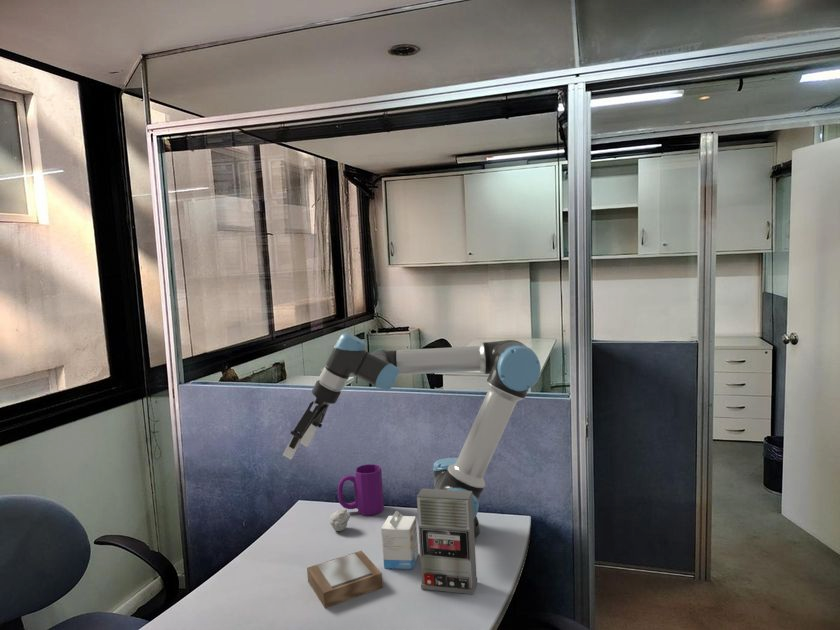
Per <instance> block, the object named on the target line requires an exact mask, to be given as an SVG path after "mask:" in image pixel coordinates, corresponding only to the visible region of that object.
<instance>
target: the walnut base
mask: <svg viewBox="0 0 840 630" xmlns="http://www.w3.org/2000/svg"><path fill="white" fill-rule="evenodd" d="M306 571H307V572H306V573H307V583H308V584H309V586H310V587H311V589H312V590H313V592H314V594H315V595H316V596H317V598H318V600H319V601H320V603H321V605H322V606H323V608H324V609H326V608H329V607H332V606H335V605H338V604H341V603H343V602H346V601H349V600H351V599H352V600H353V599H354V598H357V597H360V596H363V595H366V594H368V593H371V592H374V591H376V590H380V589H382V588H383V587H384V584H383V573H382V572H381V570H380V569H379V568H378V567H377V566H376V565H375V564H374V563H373V561H372V560H371V559H370V558H369V557H368V556H367V555H366V554H365V552H364V551H363V550H359V551H355V552H352V553H350V554H349V553H348V554H347V555H342V556H340V557H336V558H333V559H330V560H326V561H324V562H321V563H318V564H314V565H311V566H308V567H306ZM383 589H384V588H383Z"/></svg>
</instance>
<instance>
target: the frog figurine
mask: <svg viewBox="0 0 840 630" xmlns="http://www.w3.org/2000/svg"><path fill="white" fill-rule="evenodd" d="M347 510H348V509H346V508H340V509H338V510H337V511H334V512H333V513H332V514H331V515H330V516H329V524H330V526H331V527H332V528H333V530H334V531H337V532H343V531H344V530H345V529H346V527H347V526H348V522H349V521H350V519H351V513H350V512H349V511H347Z"/></svg>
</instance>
